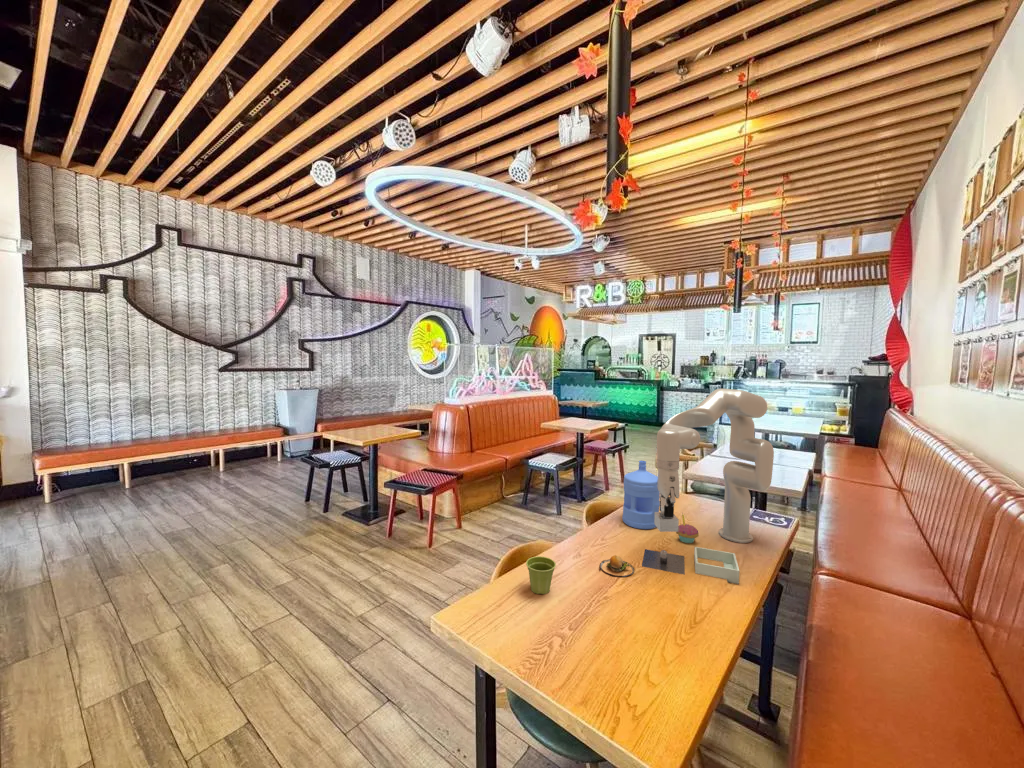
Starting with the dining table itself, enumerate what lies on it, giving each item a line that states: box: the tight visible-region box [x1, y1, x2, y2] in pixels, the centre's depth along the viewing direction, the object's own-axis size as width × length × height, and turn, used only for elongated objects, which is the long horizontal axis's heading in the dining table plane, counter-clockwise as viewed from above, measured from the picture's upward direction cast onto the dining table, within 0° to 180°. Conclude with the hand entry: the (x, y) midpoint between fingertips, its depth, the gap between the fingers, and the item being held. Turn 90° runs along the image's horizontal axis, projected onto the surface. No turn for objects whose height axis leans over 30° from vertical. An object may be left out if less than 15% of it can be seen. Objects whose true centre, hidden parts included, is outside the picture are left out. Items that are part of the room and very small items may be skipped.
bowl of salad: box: [598, 554, 635, 578], centre depth 146 cm, size 12×12×8 cm
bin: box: [693, 546, 740, 585], centre depth 147 cm, size 13×13×5 cm
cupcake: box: [675, 512, 700, 544], centre depth 169 cm, size 9×8×12 cm
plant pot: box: [525, 555, 557, 595], centre depth 134 cm, size 9×9×9 cm
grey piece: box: [654, 496, 679, 533], centre depth 150 cm, size 6×6×11 cm
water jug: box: [622, 460, 660, 530], centre depth 187 cm, size 16×16×28 cm
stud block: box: [641, 548, 686, 576], centre depth 151 cm, size 14×14×5 cm
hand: (666, 513), depth 150 cm, fingers closed on grey piece, 4 cm apart
